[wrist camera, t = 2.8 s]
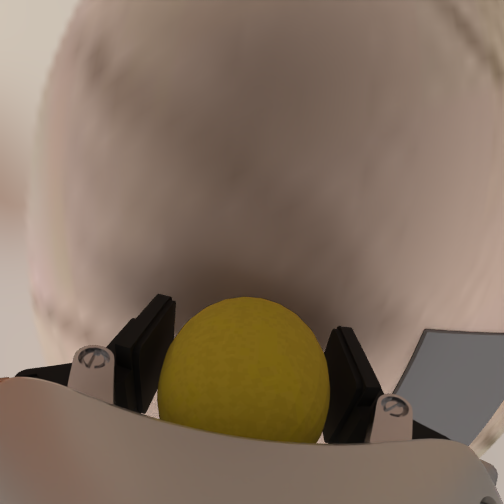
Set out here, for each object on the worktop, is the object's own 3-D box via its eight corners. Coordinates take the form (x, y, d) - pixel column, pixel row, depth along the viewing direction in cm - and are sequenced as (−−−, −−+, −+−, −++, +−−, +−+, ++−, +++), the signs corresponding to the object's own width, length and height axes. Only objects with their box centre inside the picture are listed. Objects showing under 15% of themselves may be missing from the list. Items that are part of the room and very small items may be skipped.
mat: (425, 329, 12) (427, 331, 12) (537, 333, 12) (539, 335, 12) (336, 474, 16) (337, 477, 16) (458, 453, 16) (459, 455, 15)
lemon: (322, 357, 13) (357, 500, 5) (216, 380, 14) (184, 515, 6) (294, 252, 12) (340, 383, 4) (173, 287, 12) (76, 412, 5)
